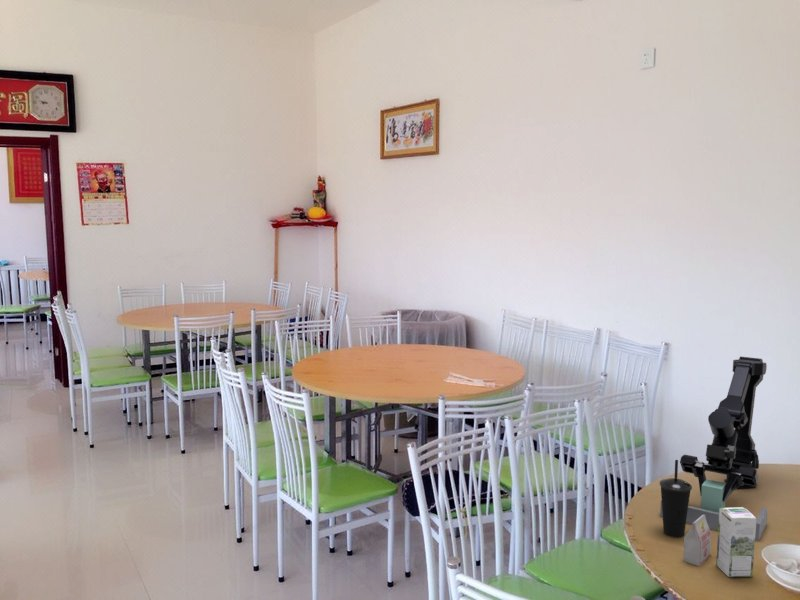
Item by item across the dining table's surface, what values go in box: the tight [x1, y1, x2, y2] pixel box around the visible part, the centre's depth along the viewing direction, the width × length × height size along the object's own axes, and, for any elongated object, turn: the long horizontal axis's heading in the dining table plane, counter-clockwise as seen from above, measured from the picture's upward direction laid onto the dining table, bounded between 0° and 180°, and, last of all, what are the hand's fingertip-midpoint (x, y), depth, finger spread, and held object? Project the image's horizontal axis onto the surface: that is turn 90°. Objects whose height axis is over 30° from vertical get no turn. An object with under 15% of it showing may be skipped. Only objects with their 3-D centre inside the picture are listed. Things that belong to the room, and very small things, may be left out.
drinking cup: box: [659, 459, 693, 539], centre depth 172 cm, size 8×8×20 cm
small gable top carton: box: [683, 515, 712, 567], centre depth 161 cm, size 4×7×10 cm, turn 136°
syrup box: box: [715, 506, 757, 578], centre depth 154 cm, size 6×6×14 cm
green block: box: [700, 478, 727, 513], centre depth 179 cm, size 5×5×10 cm
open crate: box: [659, 499, 768, 542], centre depth 180 cm, size 12×24×5 cm, turn 53°
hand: (712, 498), depth 178 cm, fingers closed on green block, 5 cm apart
